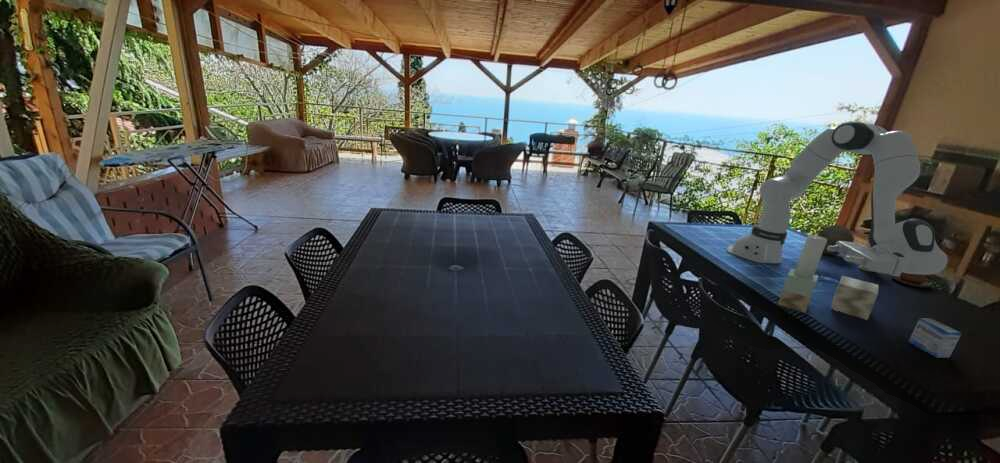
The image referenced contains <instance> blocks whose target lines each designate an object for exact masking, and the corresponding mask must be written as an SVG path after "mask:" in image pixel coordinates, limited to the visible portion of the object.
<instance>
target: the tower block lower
mask: <svg viewBox="0 0 1000 463" xmlns="http://www.w3.org/2000/svg"><path fill="white" fill-rule="evenodd" d="M813 294H814V292H813V293H812V295H811V298H808V297H805V296H802V295H798V294H795V293H792V292H788V291H785V290H783V289H782V291H781V294H780V297H779V300H778V306H781V307H784V308H788V309H791V310H794V311H797V312H800V311H801V313H803V312H804V313H803V314H806V312H807V311H808V308H809V305H810V302H811V300H812V297H813Z"/></svg>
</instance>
